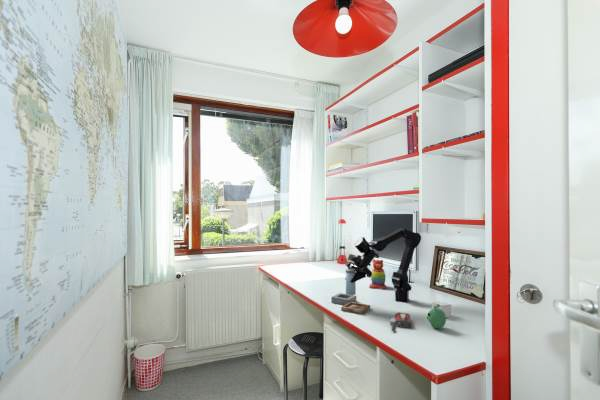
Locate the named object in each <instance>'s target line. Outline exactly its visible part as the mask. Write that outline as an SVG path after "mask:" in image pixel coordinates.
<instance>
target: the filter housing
mask: <svg viewBox="0 0 600 400" xmlns="http://www.w3.org/2000/svg"><path fill="white" fill-rule="evenodd" d="M349 302H355V303H357V295H356V294H355V295H347V294H346V293H342V292H339V293H337V294H335V295H332V296H331V303H332V304H337V305H342V306H344V305H346V304H347V303H349Z"/></svg>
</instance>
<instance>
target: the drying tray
mask: <svg viewBox="0 0 600 400" xmlns="http://www.w3.org/2000/svg"><path fill="white" fill-rule="evenodd" d="M370 309H371V305H370V304H367V303H365V304H364V303H360V302H349V303H347V304H346V305H342V306H341V308H340V311H342V312H348V313H352V314H357V315H363V314H365V313H366V312H368V311H369V310H370Z"/></svg>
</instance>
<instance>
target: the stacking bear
mask: <svg viewBox="0 0 600 400" xmlns="http://www.w3.org/2000/svg"><path fill="white" fill-rule="evenodd" d="M383 262H384V260H382V259H373V260H372V267H373V269H372V270H371V272H372V276H371V277H370V280H371V284H369V288H370V289H381V290H387V285H386V284H385V283H386V279H387V276H386V272H385V269H383V267H384V263H383Z"/></svg>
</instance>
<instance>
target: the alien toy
mask: <svg viewBox="0 0 600 400" xmlns="http://www.w3.org/2000/svg"><path fill="white" fill-rule="evenodd" d="M437 306H438V308H437ZM437 306H434V308H433V309H432V308H431V309H430V310H429V311H428V313H427V316H426V319H427V320H428V322H429V324H430V326H431V327H433V329H438V330H440V329H442V328H444V326H445V325H446V322H447V317H446V316H445V314H444V312H443V311H442V310H441V309H439V306H440V305H439V304H437Z"/></svg>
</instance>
